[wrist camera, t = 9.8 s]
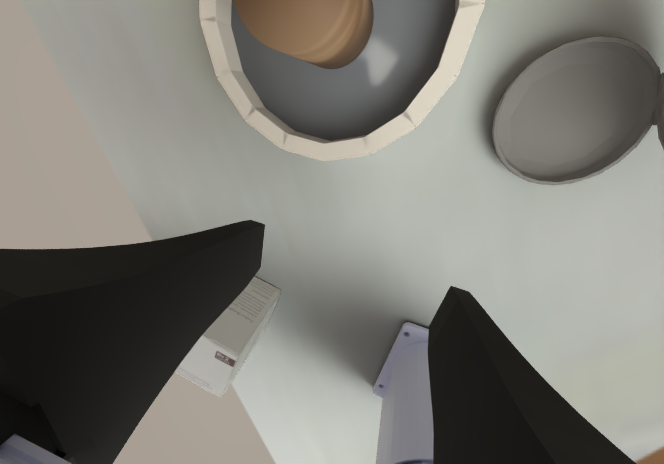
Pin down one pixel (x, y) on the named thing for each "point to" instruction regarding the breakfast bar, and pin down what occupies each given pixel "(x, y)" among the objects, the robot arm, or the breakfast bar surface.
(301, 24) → the walnut cylinder
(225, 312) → the skincare box
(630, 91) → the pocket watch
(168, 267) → the robot arm
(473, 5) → the round tray
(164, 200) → the breakfast bar surface
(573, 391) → the breakfast bar surface
